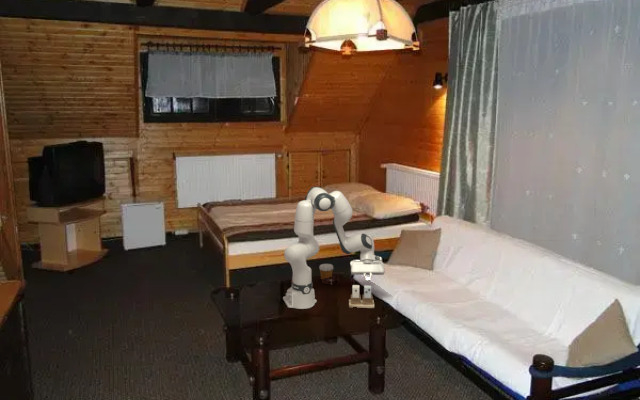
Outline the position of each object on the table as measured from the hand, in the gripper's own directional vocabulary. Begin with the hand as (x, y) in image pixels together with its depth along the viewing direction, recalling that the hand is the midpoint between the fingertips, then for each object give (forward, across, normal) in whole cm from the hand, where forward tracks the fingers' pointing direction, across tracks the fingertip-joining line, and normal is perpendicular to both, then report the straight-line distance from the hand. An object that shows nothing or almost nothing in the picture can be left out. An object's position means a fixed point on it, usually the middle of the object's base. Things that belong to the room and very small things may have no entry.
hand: (367, 280), depth 316 cm
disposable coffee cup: (-14, -26, +35) cm, 46 cm away
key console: (+11, -4, +10) cm, 15 cm away
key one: (+8, -7, +7) cm, 13 cm away
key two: (+8, 0, +7) cm, 11 cm away
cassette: (-9, -43, +30) cm, 53 cm away
